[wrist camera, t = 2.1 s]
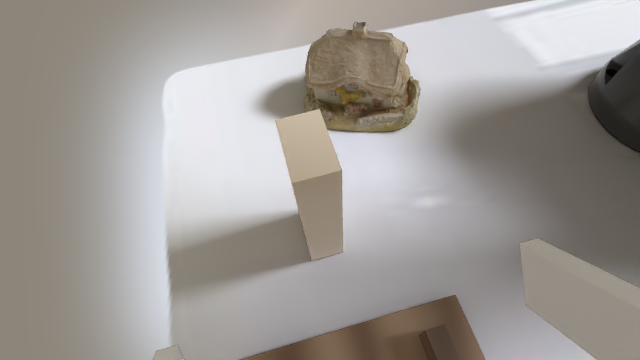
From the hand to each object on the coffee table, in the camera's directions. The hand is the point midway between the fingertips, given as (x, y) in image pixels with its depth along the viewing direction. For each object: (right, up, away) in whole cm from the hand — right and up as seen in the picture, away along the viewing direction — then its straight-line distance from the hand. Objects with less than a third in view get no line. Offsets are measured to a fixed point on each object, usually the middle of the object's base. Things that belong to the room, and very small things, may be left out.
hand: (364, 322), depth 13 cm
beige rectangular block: (-2, 0, +21) cm, 21 cm away
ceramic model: (+3, +15, +30) cm, 33 cm away
